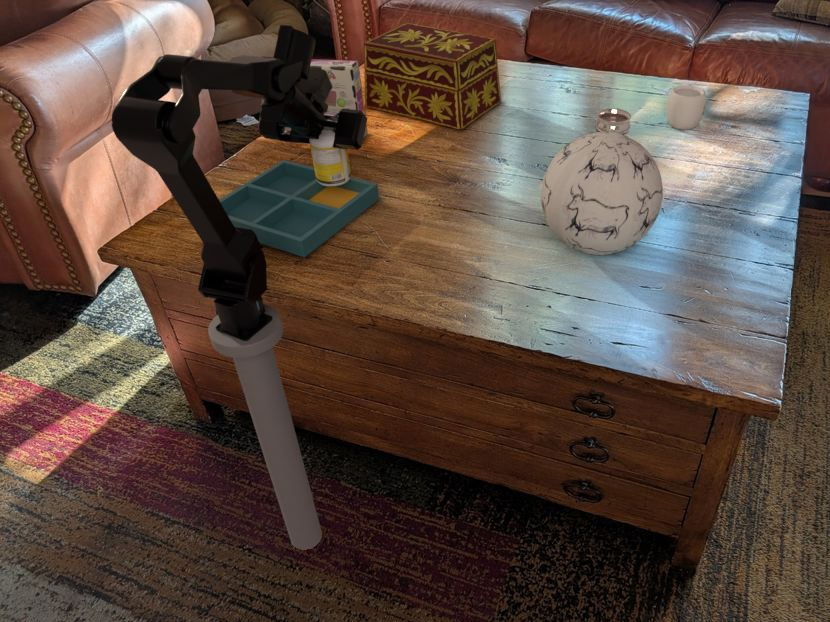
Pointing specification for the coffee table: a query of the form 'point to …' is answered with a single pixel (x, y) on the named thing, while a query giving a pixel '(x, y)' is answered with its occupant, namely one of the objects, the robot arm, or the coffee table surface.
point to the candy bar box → (342, 85)
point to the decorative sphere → (602, 193)
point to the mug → (685, 106)
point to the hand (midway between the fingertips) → (332, 143)
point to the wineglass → (613, 121)
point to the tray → (296, 207)
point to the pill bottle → (329, 160)
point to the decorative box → (432, 75)
